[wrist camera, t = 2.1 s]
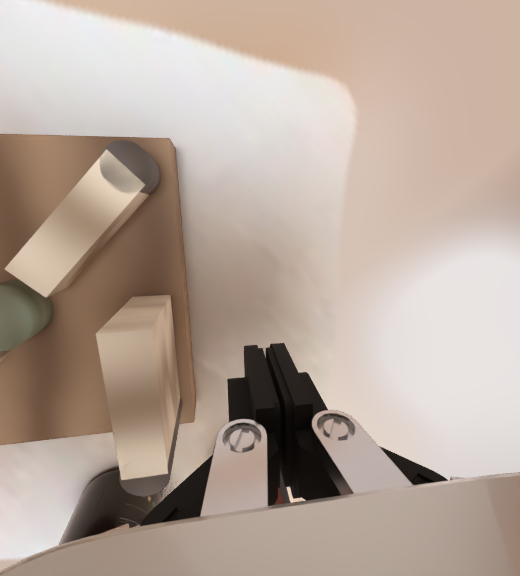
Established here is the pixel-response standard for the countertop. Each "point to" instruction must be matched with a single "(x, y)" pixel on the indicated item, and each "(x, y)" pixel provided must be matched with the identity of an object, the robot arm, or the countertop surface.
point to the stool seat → (81, 272)
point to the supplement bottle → (107, 508)
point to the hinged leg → (142, 391)
